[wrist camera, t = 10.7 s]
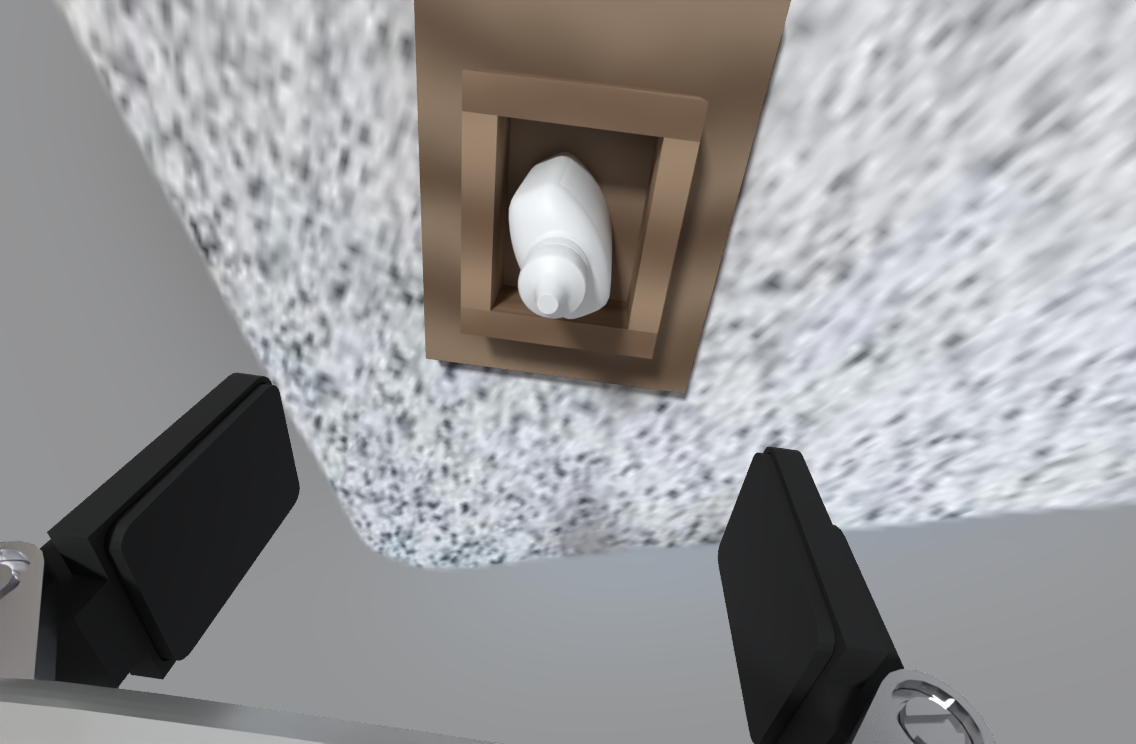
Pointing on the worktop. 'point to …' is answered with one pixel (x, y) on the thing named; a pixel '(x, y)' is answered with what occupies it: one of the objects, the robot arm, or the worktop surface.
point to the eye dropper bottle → (561, 239)
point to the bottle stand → (608, 150)
